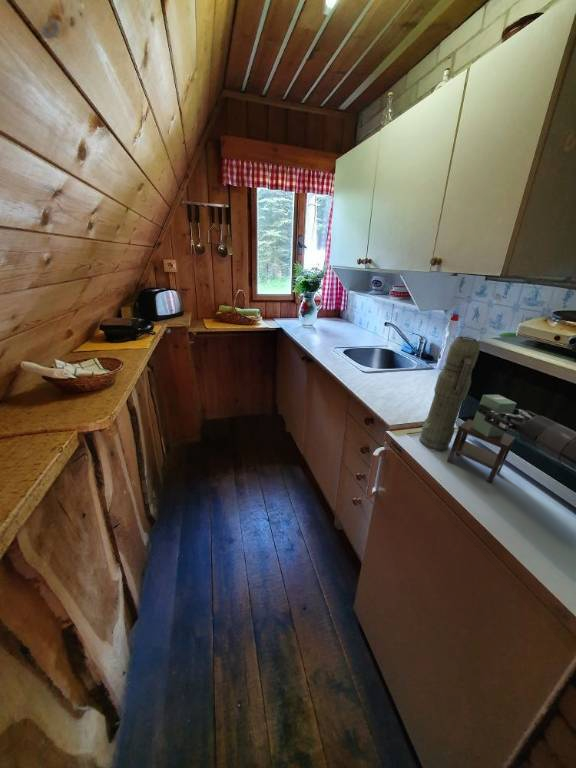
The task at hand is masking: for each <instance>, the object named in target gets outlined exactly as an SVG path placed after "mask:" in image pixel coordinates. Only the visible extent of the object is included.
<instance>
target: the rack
mask: <svg viewBox="0 0 576 768" xmlns="http://www.w3.org/2000/svg"><path fill="white" fill-rule="evenodd" d="M473 420H474V419H470V418H468V419H467V420H466V421H464V422H463V423H461V424H460V425H459V426H458V429H457V431H456V434H455V437H454V440H453V442H452V445H451V447H450V451H449V454H448V456H447V459H446V462H447V463H449V464H452V463H453V461H454V459H455V456H462V457H465V458H467V459H469V460H471V461H473V462H476V463H478V464H480V465H482V466H484V467H486V468H488V469H490V473H489V475H488V477H487V480H486V482H487V483H489V484H493V483H494V481H495V478H496V476H497V475H499V474H500V473H501V471H502V468H503V466H504V465H505V462H506V460H507V457H508V455H509V453H510V451H511V448H512V447H513V443H514V441H515V439H516V436H513V435H511V434H508V433H507V432H504V435H503V436H499V437H486V436H484V435H483V434H481V433H480V432H478V431H477V430H475V429H474V428H472V427H471V426H472V423H473ZM468 435H469V436H471V437H474V438H476V439H479V440H481V441H482V442H483V441H484V442H486V443H488V444H491V445H494V446H496V447H498V448H500V449H499V451H498V453H497V454H496V453H494V452H493V451H490V450H487V449H485V448H483V447H480V446H478V445H476V444H474V443H472V442H470V441H467V439H468Z"/></svg>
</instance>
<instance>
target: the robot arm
mask: <svg viewBox="0 0 576 768" xmlns="http://www.w3.org/2000/svg"><path fill="white" fill-rule="evenodd" d="M479 404H480V403H479ZM479 404H478V406H477V409H476V412H477V411H478V412H479V413H481V414H483V415H484V416H485V418H484V421H486V422H488V423H489V424H491V425H493V426H495V427H497V428H498V429H500V430H502V431H505V432H504V433H507V432H508V429H509V430H510V431H513V432H515V433H516V432H517V433H518V434H519V439H520V441H521V442H522V443H524V444H526V445H527V446H529V447H530V448H533V449H534V450H536V451H537V452H539V453H541V454H543V455H544V456H546V457H547V458H549V459H551V460H553V461H556V462H558V463H560V464H562V465H564V466H565V467H566V468H568V469H570V470H572V471H574V472H575V473H576V431H575V430H573V429H571V428H568V427H567V426H565V425H562V424H560V423H558V422H556V421H554V420H552V419H550V418H547V417H546V416H543V415H538V414H537V413H535V412H533V411H531V410H524V409H522V408H521V409H520V408H518V407H517V408H516V407H515V409H514V411H513V413H512V414H510V413H507V412H501V413H500V412H497V411H494V410H492V409H490V408H488V407H487V406H485V405H483V404H480V405H479ZM498 415H499V416H498ZM504 416H507V418H506V419H503V418H504Z"/></svg>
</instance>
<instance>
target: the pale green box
mask: <svg viewBox="0 0 576 768" xmlns="http://www.w3.org/2000/svg"><path fill="white" fill-rule="evenodd" d="M480 404H483V405H485V406H487V407H488V408H490V409H492V410H494V411H497V412H500V413H501V412H507V413H510V414H512V413H513V411H514V409H515V408H516V406H517V402H515V401H513V400H511V399H509V398H506V397H505V396H503V395H500V394H482V396H481V399H480V402H479V404H478V406H479V405H480ZM498 416H499V415H498ZM484 418H485V416H484V415H483V414H481V413H479V412H478V411H477V410H476V413H475V415H474V418H473V419H472V420H473V423H472V426H471V427H472V428H474V429H475V430H477V431H478V432H480V433H481V434H483V435H484V436H486V437H499V436H503V435H504V433H506V432H505V431H502V430H500V429H498V428H497V427H495V426H493V425H491V424H489V423H488V422H486V421H484ZM506 418H507V416H504V418H503V419H506Z"/></svg>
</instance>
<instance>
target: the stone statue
mask: <svg viewBox="0 0 576 768" xmlns="http://www.w3.org/2000/svg"><path fill="white" fill-rule="evenodd" d="M479 354H480V341H478V340H477V339H476V338H473V337H468V336H458V337H455V338H454V340H453V341H452V342H451V344H450V345H449V348H448V351H447V355H446V358H445V363H444V365H443V367H442V370H441V371H440V373H439V374H438V376H437V379H436V382H435V386H434V395H433V398H432V402H431V404H430V408H429V411H428V414H427V417H426V419H425V420H424V421H423V425H422V428H421V431H420V437H419V443H421V445H422V446H424V447H426V448H428V449H430V450H433V451H438V452H444V451H445V452H446V451H447V450H448V449H449V445H450V444H451V442H452V439H453V436H454V434H455V425H456V422H457V419H458V416H459V413H460V410H461V407H462V405H463V401H465V400H466V398H467V395H468V393H469V391H470V387H471V385H472V374H473V369H474V368H475V366H476V363H477V360H478V357H479Z"/></svg>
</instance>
